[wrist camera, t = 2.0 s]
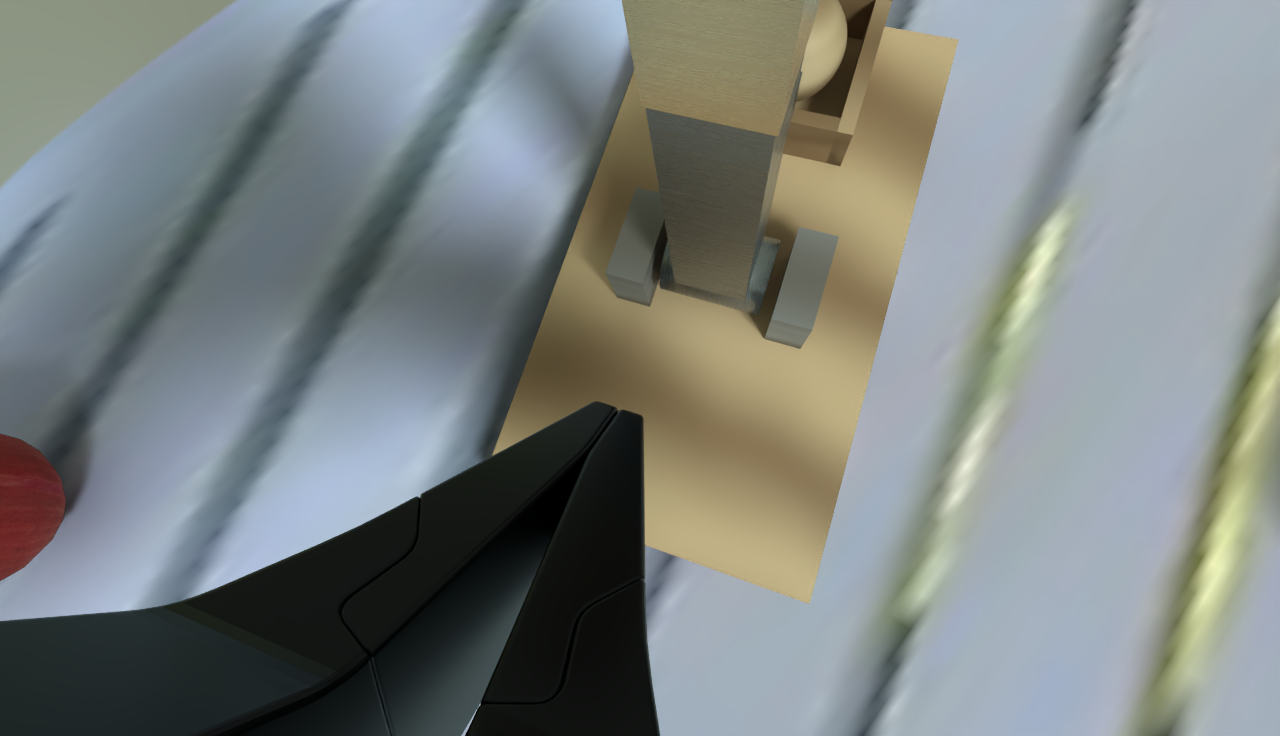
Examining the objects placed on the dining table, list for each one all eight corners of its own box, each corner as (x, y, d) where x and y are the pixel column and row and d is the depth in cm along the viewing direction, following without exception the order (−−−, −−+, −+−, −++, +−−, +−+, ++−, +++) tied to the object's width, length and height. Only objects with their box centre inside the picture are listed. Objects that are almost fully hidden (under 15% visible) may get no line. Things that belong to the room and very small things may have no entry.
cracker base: (801, 594, 18) (824, 621, 15) (497, 486, 20) (450, 485, 17) (941, 69, 22) (989, -17, 18) (667, 18, 24) (659, -69, 20)
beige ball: (849, 106, 20) (878, 26, 17) (751, 138, 20) (760, 66, 17) (813, 25, 21) (834, -67, 18) (720, 58, 21) (722, -27, 18)
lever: (755, 325, 19) (868, -81, 5) (663, 299, 19) (557, -126, 6) (799, 179, 20) (991, -480, 6) (709, 158, 20) (709, -487, 7)
